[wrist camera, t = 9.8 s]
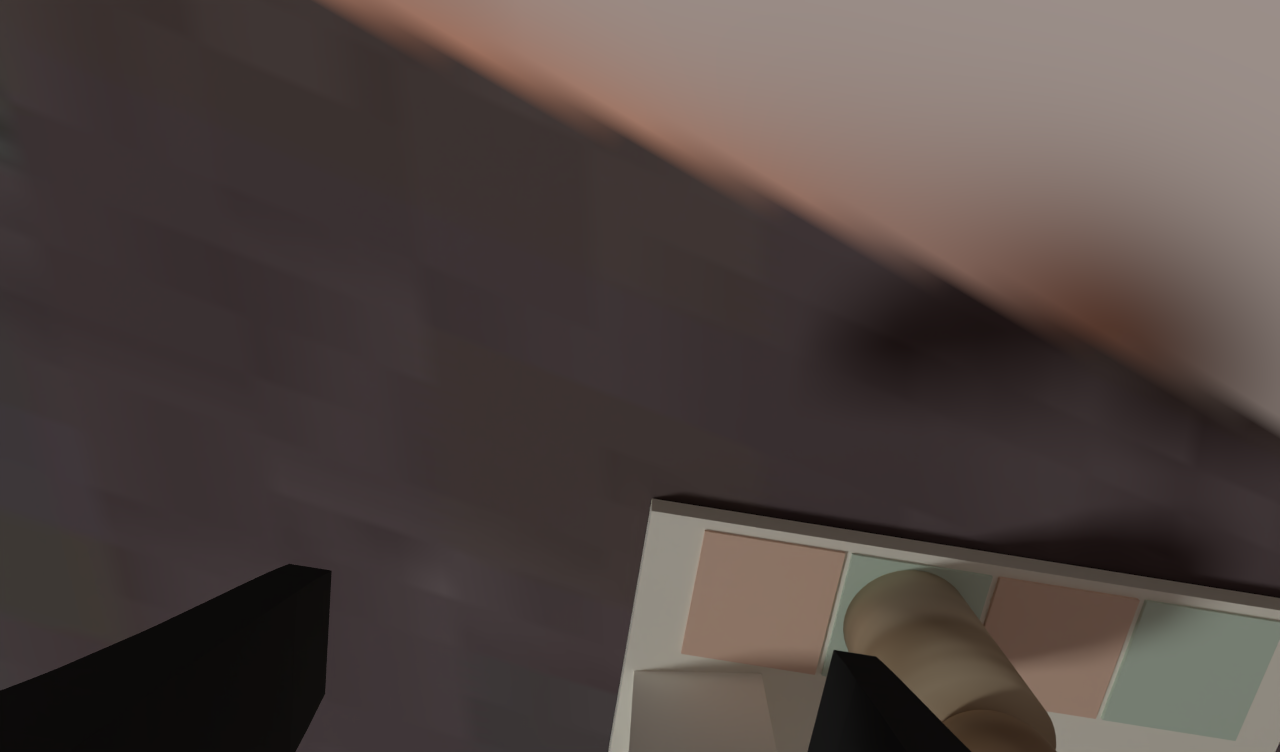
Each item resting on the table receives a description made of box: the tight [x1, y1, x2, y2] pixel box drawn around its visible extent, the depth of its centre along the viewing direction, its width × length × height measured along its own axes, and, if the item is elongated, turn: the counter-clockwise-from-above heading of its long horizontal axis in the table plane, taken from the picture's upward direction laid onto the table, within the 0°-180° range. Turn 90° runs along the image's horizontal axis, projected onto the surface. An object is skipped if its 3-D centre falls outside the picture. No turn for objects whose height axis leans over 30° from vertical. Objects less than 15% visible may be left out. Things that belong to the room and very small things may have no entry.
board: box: [608, 499, 1280, 752], centre depth 21 cm, size 8×19×1 cm, turn 81°
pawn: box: [843, 570, 1057, 752], centre depth 17 cm, size 3×3×7 cm
